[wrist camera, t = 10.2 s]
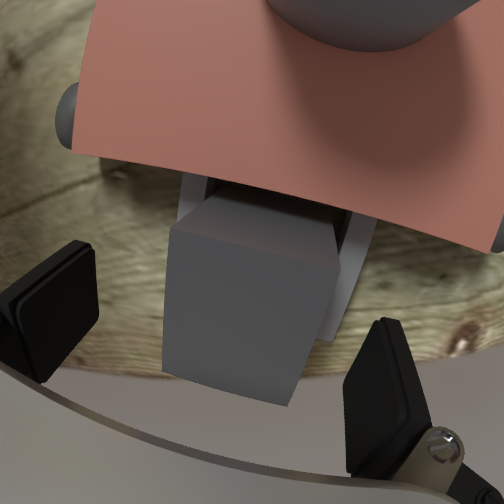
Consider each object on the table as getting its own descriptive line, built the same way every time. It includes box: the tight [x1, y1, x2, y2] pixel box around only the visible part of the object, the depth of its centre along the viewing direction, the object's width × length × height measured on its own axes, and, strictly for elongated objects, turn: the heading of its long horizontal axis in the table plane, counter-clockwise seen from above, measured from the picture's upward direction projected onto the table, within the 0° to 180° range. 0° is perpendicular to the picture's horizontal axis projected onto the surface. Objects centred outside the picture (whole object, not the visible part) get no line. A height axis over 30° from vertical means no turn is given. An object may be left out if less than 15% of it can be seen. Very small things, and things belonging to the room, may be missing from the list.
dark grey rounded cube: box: [162, 183, 341, 406], centre depth 13 cm, size 6×5×7 cm
